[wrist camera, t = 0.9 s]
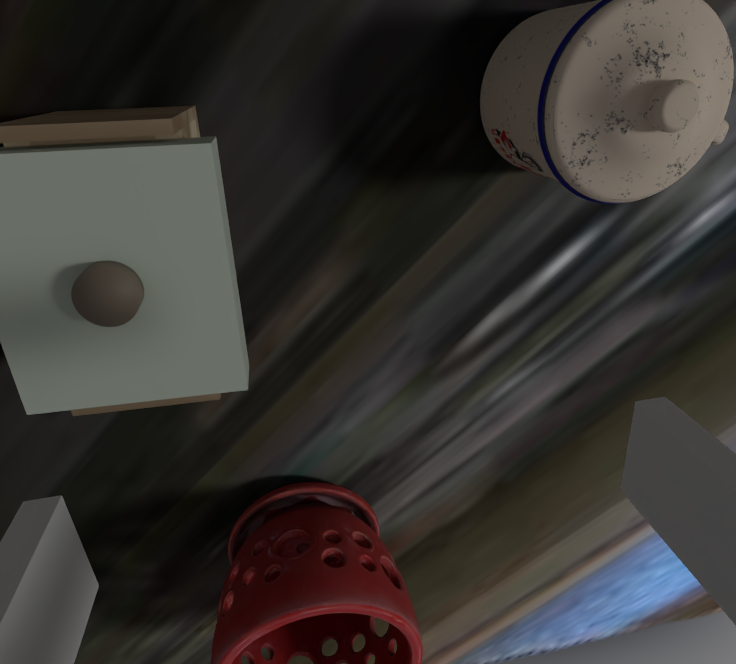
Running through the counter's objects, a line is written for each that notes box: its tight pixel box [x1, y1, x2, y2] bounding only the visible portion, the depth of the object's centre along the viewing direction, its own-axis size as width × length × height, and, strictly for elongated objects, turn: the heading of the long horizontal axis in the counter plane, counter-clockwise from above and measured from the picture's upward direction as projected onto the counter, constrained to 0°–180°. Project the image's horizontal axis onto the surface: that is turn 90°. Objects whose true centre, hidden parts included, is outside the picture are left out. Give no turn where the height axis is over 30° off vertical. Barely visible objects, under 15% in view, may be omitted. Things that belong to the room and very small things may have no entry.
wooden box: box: [0, 106, 221, 416], centre depth 28 cm, size 13×7×8 cm, turn 2°
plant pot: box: [211, 482, 423, 664], centre depth 38 cm, size 13×13×12 cm
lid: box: [0, 136, 249, 415], centre depth 24 cm, size 11×10×3 cm
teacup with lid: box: [480, 0, 734, 204], centre depth 27 cm, size 12×9×12 cm
